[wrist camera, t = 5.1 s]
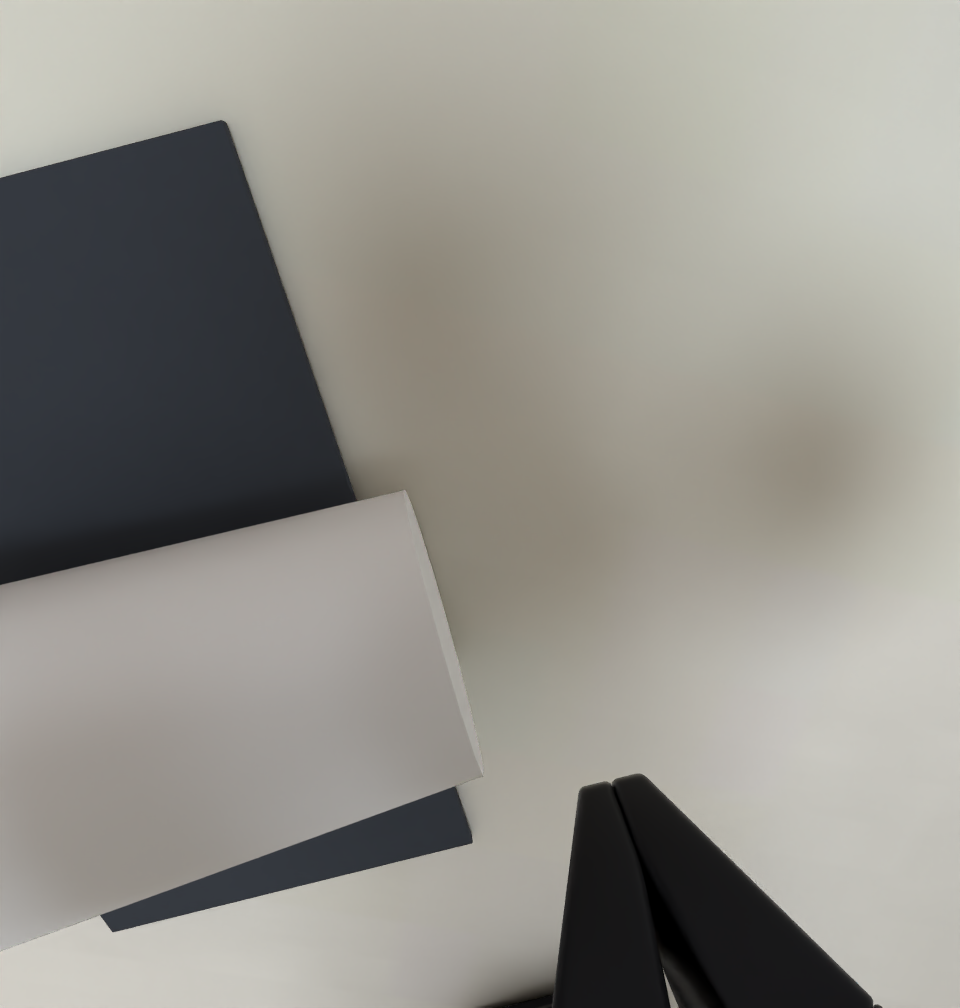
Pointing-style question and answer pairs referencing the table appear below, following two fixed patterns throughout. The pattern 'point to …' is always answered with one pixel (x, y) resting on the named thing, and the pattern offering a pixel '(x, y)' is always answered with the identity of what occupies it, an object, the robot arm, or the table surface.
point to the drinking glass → (218, 707)
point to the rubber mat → (166, 416)
